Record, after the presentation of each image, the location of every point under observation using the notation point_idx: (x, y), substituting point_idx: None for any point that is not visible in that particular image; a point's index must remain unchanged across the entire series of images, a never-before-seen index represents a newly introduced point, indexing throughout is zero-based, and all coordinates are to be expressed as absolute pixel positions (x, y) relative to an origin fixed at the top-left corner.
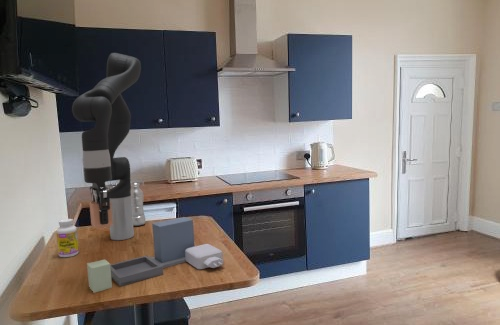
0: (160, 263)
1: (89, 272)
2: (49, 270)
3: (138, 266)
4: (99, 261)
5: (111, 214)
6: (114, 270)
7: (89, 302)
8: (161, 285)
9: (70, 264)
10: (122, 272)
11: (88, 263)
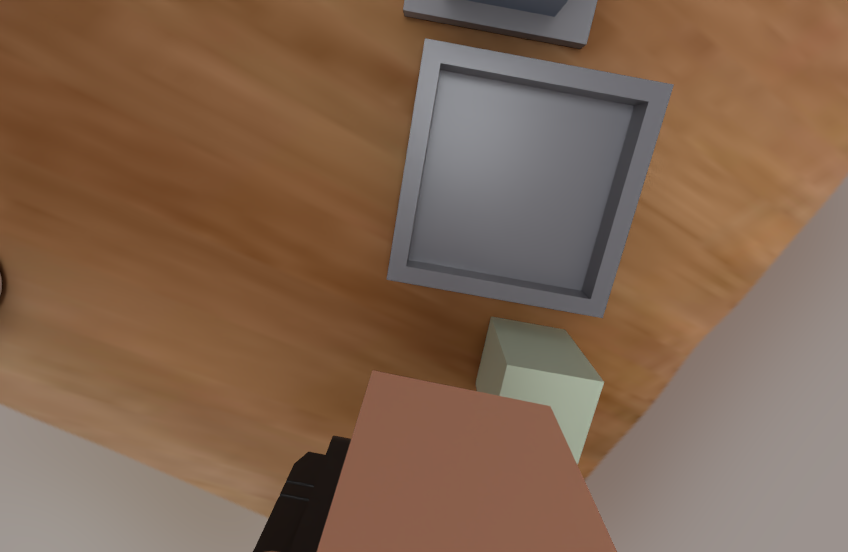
0: (550, 26)
1: None
2: (143, 410)
3: (471, 135)
4: (514, 398)
5: (588, 501)
6: (489, 286)
7: (612, 438)
8: (751, 180)
9: (128, 325)
10: (477, 235)
11: None
